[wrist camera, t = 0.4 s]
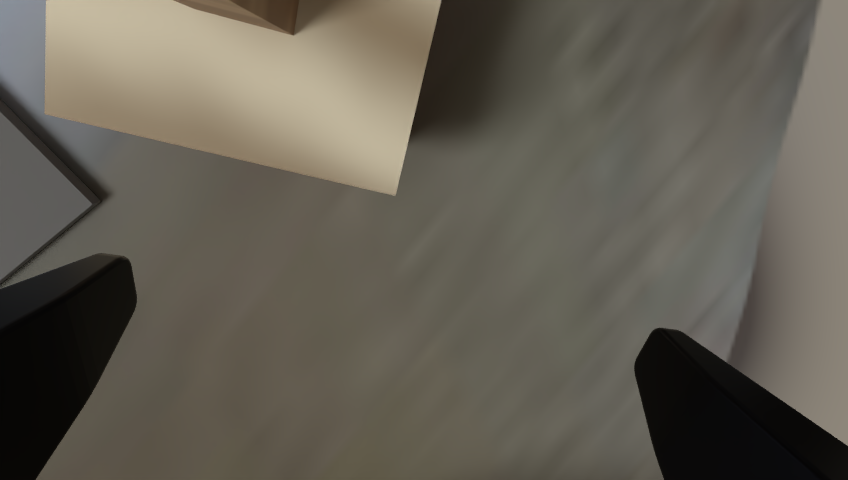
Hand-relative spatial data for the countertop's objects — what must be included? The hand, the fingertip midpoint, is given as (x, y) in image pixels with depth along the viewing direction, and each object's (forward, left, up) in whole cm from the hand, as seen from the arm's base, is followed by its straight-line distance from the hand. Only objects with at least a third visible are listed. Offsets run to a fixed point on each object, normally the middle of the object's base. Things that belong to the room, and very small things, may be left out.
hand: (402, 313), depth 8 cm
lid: (+6, +6, -10) cm, 13 cm away
